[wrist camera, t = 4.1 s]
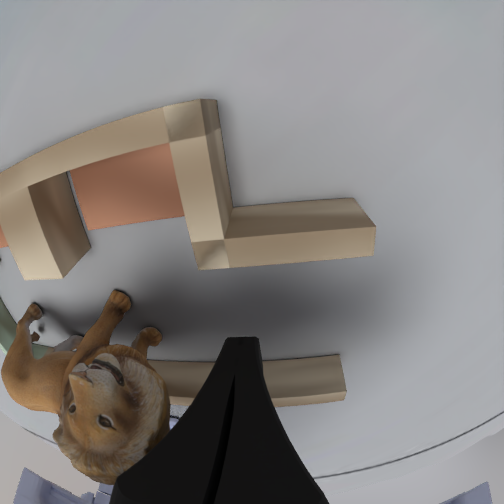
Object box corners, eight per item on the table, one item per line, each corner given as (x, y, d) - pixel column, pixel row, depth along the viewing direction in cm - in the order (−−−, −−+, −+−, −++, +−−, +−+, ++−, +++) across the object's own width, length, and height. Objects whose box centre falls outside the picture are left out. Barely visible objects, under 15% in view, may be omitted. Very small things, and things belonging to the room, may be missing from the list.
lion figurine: (169, 241, 11) (62, 457, 3) (224, 330, 13) (196, 511, 6) (19, 306, 14) (-42, 395, 7) (61, 357, 17) (17, 446, 9)
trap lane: (337, 364, 15) (344, 404, 12) (29, 349, 17) (15, 371, 15) (348, 90, 8) (380, 87, 5) (-45, 205, 10) (-69, 223, 8)
